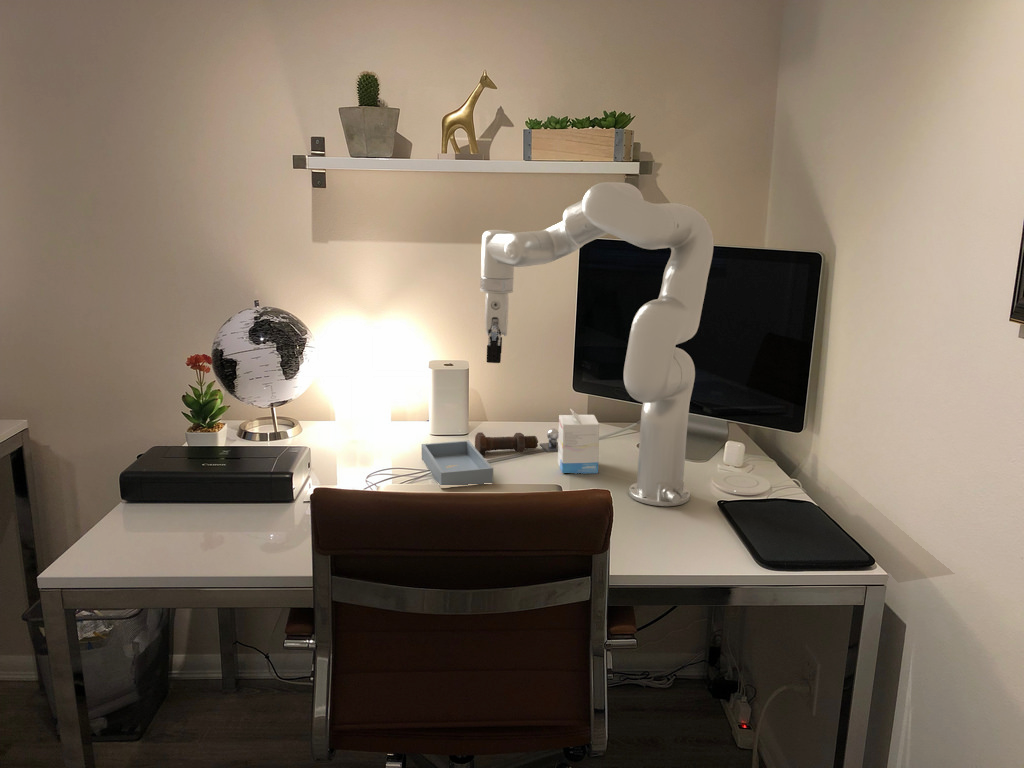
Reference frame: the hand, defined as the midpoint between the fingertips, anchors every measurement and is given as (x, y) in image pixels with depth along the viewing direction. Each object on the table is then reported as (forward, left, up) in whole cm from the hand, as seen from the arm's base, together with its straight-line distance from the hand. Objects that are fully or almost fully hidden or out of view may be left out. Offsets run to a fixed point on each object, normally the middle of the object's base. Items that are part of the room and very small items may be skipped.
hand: (494, 357), depth 194 cm
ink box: (-15, -16, -24) cm, 32 cm away
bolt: (+1, -4, -24) cm, 24 cm away
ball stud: (0, -15, -24) cm, 28 cm away
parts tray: (-10, +12, -24) cm, 28 cm away
